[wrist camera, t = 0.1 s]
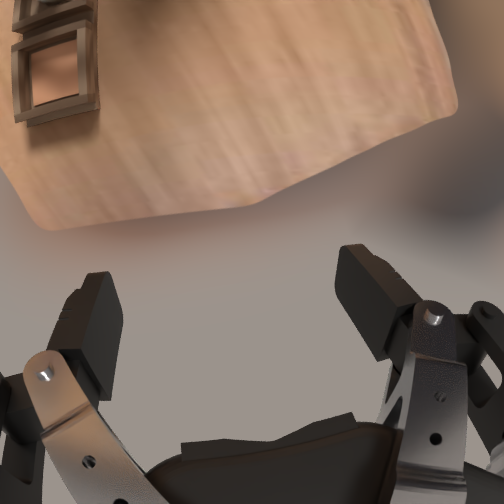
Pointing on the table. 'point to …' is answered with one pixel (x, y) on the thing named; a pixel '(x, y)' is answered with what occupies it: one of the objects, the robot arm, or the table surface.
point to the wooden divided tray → (54, 59)
